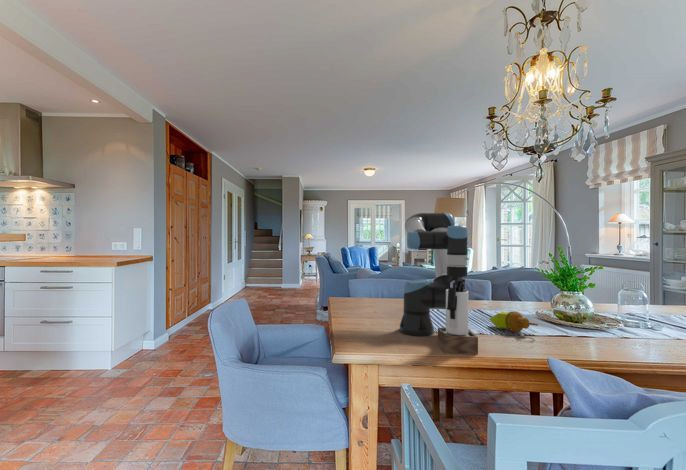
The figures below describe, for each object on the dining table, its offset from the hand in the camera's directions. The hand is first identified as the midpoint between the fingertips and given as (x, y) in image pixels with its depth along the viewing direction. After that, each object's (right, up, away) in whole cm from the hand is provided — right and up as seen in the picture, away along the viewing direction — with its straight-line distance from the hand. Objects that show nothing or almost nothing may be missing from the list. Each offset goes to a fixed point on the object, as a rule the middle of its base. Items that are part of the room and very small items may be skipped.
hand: (456, 324), depth 131 cm
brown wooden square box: (0, -9, 0) cm, 9 cm away
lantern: (+33, -9, +24) cm, 41 cm away
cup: (0, -3, 0) cm, 3 cm away
